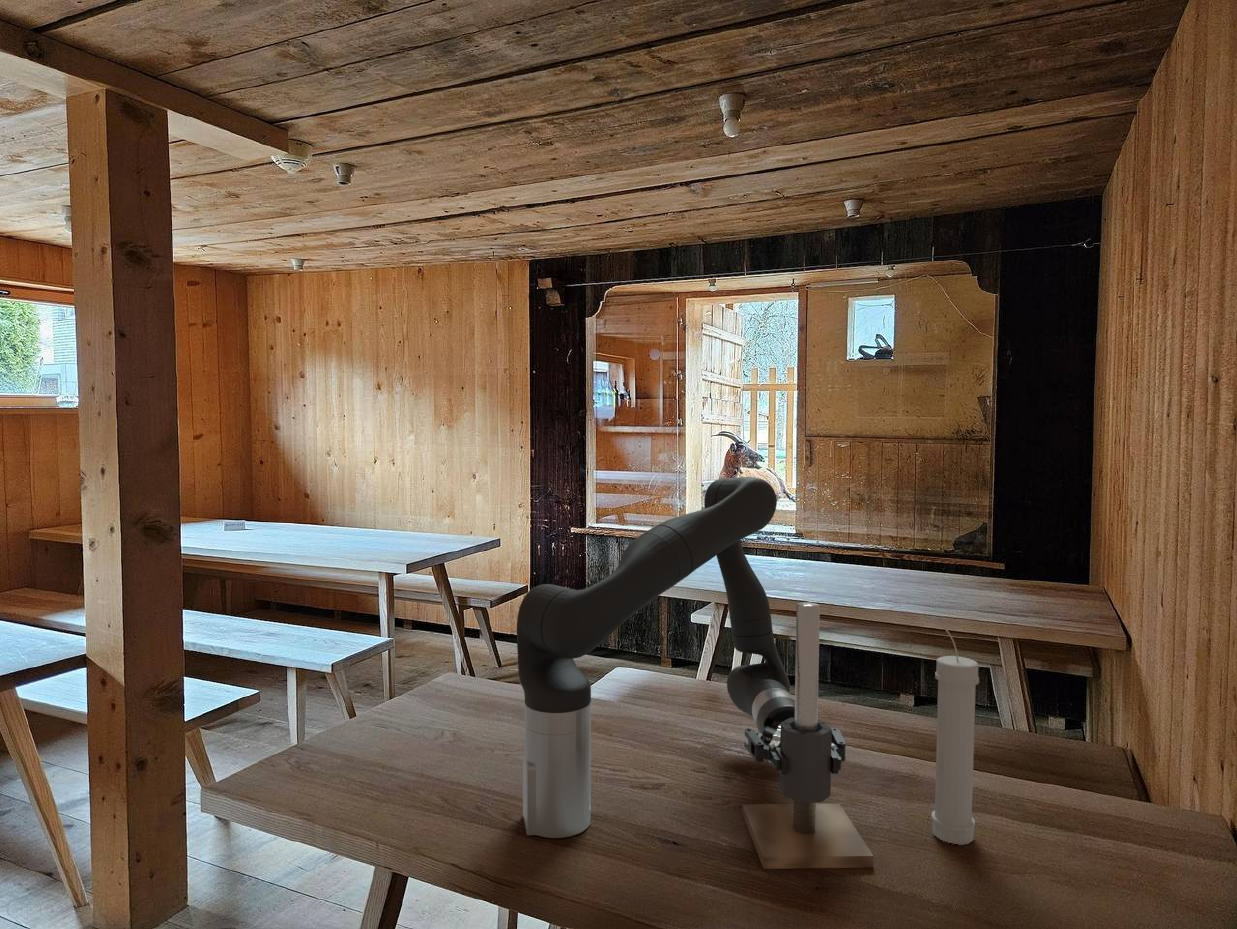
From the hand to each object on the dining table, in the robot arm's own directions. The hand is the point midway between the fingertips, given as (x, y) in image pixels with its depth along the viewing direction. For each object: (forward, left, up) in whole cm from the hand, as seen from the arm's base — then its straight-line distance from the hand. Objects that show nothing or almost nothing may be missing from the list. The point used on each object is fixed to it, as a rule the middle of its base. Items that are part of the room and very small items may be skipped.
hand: (810, 766), depth 105 cm
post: (0, +2, -11) cm, 11 cm away
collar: (0, +2, -4) cm, 5 cm away
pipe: (+20, -1, -11) cm, 23 cm away
